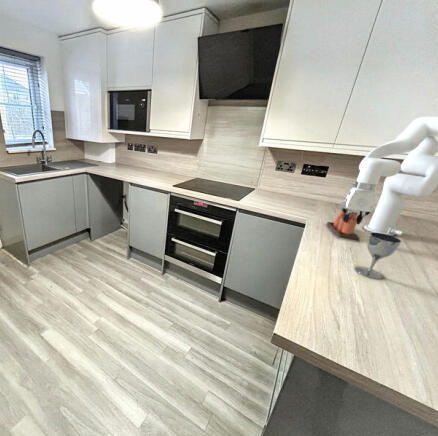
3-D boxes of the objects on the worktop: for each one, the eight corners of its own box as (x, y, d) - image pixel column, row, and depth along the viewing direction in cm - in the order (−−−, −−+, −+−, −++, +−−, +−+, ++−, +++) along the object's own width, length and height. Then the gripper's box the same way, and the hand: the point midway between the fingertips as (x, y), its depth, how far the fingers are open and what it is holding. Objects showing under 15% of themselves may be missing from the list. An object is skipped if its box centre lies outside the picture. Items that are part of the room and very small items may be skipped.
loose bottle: (354, 233, 118) (362, 213, 114) (349, 234, 116) (357, 214, 112) (344, 230, 121) (352, 210, 117) (339, 231, 120) (347, 211, 116)
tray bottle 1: (344, 228, 128) (351, 210, 125) (339, 229, 127) (346, 210, 123) (335, 225, 132) (342, 207, 128) (330, 226, 130) (337, 208, 126)
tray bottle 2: (348, 232, 123) (356, 213, 119) (343, 234, 122) (351, 214, 118) (339, 229, 127) (346, 210, 123) (334, 230, 125) (341, 211, 121)
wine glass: (376, 281, 84) (394, 244, 78) (350, 269, 91) (365, 234, 85) (387, 276, 87) (405, 240, 81) (362, 265, 94) (377, 231, 88)
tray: (326, 225, 134) (327, 221, 134) (343, 227, 132) (344, 224, 131) (338, 238, 118) (339, 234, 117) (358, 241, 115) (359, 238, 114)
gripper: (346, 185, 109) (333, 222, 116) (392, 190, 104) (375, 228, 111) (340, 182, 116) (328, 217, 123) (383, 187, 111) (368, 223, 117)
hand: (350, 222), depth 116 cm, fingers closed on loose bottle, 4 cm apart
